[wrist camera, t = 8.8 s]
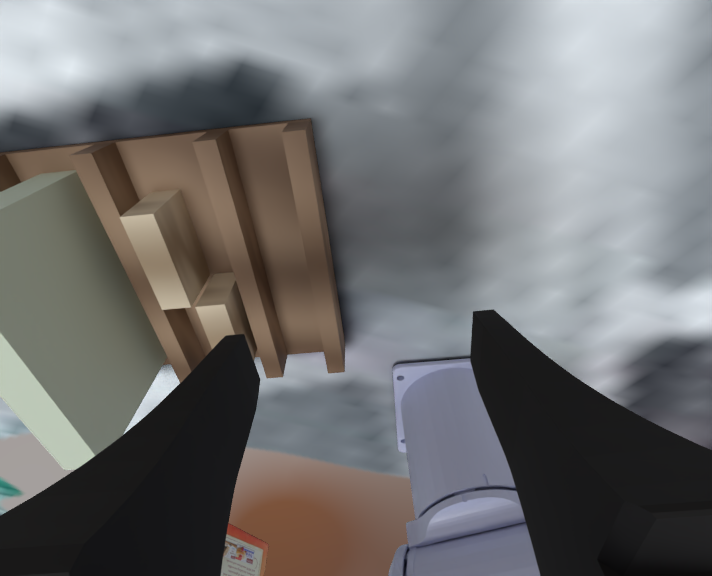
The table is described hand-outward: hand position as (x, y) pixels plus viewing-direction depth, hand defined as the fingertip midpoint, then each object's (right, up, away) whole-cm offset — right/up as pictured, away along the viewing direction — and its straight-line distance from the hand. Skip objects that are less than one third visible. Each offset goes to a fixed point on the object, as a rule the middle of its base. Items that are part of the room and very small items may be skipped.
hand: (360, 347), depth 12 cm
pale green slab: (-14, +3, +10) cm, 17 cm away
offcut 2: (-7, +1, +11) cm, 13 cm away
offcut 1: (-9, +5, +9) cm, 14 cm away
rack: (-8, +3, +10) cm, 14 cm away
